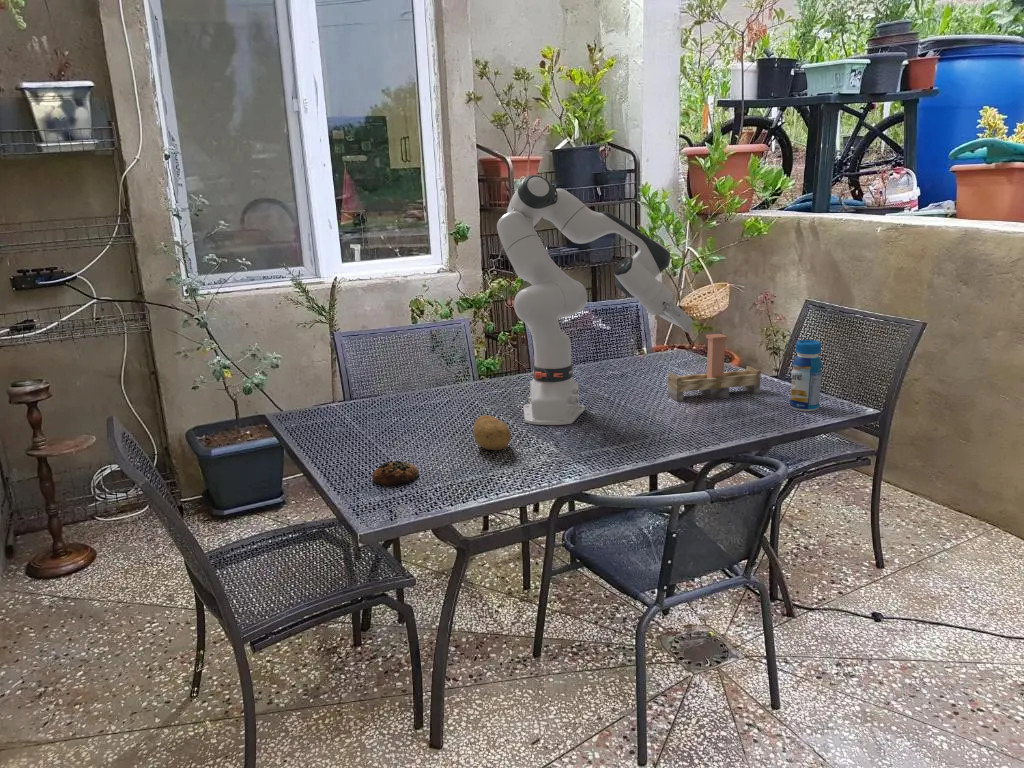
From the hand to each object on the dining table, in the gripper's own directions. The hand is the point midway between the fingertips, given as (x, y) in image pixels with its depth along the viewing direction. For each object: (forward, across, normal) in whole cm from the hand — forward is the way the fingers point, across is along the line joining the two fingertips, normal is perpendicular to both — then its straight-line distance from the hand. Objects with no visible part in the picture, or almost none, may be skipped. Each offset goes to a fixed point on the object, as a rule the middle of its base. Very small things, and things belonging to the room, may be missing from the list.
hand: (688, 330), depth 228 cm
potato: (-30, -30, +62) cm, 75 cm away
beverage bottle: (+37, -17, -5) cm, 41 cm away
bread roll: (-48, -45, +80) cm, 103 cm away
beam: (+22, +3, +8) cm, 24 cm away
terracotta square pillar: (+19, +3, +5) cm, 20 cm away
